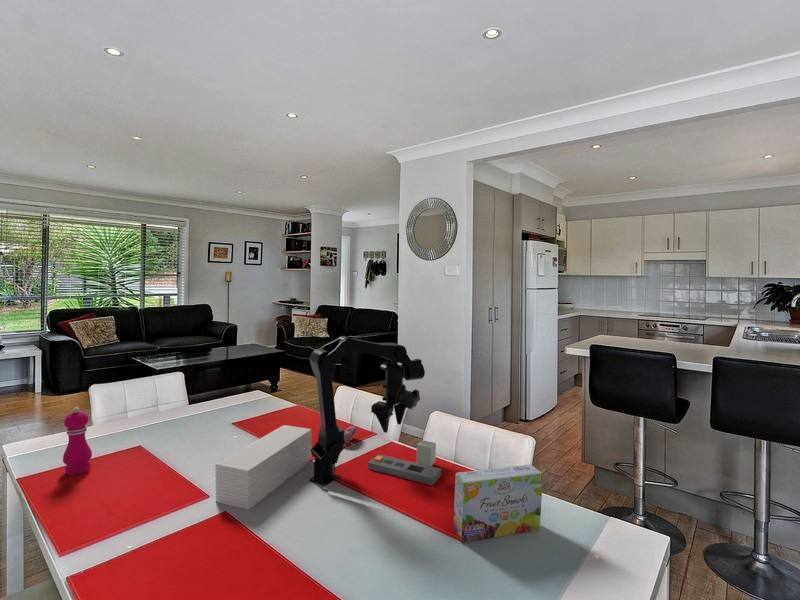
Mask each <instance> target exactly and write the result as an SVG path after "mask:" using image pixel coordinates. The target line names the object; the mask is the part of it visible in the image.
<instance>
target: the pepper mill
mask: <svg viewBox="0 0 800 600" xmlns="http://www.w3.org/2000/svg"><path fill="white" fill-rule="evenodd" d="M88 423H89V416H88V414H87V413H86V412H84V411H81V410H80V408H79V407H78V406H76V407H73V408H72V412H70V413H69V414H68V415H66V416H65V417H64V421H63V424H64V427H66V435H68V442H67V446H66V449H65V450H64V453H63V456H62V463H63V464H64V465H65V467H64V470H65V471H64V472H65V473H64V474H66V475H67V476H75V475H80V474H84V473H87V472H89V470H90V469H91V462H90V460H91V458H92V457H93V452H92V449H91V446H90V445H89V444H88V443H87V440H86V432H87V431H88V429H87V428H88V427H87V424H88Z"/></svg>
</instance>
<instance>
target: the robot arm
mask: <svg viewBox="0 0 800 600" xmlns="http://www.w3.org/2000/svg"><path fill="white" fill-rule="evenodd" d="M349 351H350V352H357V353H362V354H367V355H373V356H379V357H381V358H384V359H386V360H389V361H392V362H388V361H386V360H385V361H383V363H382V364H381V365H380V366H379V368H380V369H382V370H385V383H384V384H383V385H382V388H383V389H384V396H382V401H381V400H379V401H377V402H375V403H373V404H372V405H371V406H370V407H371V410H370V411H371V413H373V415H375V416H376V418H377V421H378V423H379V424H380V427H381V429H382V431H383V433H385V434H387V433H388V432H389V424H390V418H391V417H392V416H393V415H394V414H395V419H396V423H397V425H398V426H399V425H402V422H403V419H404V415H405V413H406V410H407V409H408V410H409V409H410V410H412V409H413V408H416V407H417V405H418V402H420V400H421V398H420V397H421V396H420V390H418V389H416V388H415V389H414V390H412V391H411V390H407V386H406V384H404V380H405V381H416V380H422V379H424V377H425V374H426V371H425V370H426V369H425V368H424V365H423V363H422V359H419V358H414V359H411V358H410V356H409V355H408V353H407V352H408V351H407V348H406V346H404V345H401V344H398V343H394V342H372V341H368V340H363V339H362V340H361V339H357V338H351V337H348V336H346V335H340V336H339V337H338V338H336V339H335V340H333V341H330V342H329V343H326V344H324V345H323V346H322V347H320V348H316V349H314V350H313V351H312V352H311V353H310V354H309V363H310V366H311V370H312V372H313V375H314V376H315V378H316V384H317V385H316V386H317V395H318V396H317V397H318V404H319V414H320V427H319V430H318V437H317V441H316V443H315V444H314V445H313V447H311V456H313V457H314V458H315V459H314V461H313V476H312V477H310V478H309V481H310V482H313V483H316V484H319V485H323V486H328V485H329V484H331V483H332V482H333V481H335V480H337V479H338V478H339V474H336V464H337V463H338V462H339V458H340V454H341V453H342V451H343V450H344V445H346V444H345V443H346V442H345V441H344V432H345V431H344V429H343V428H341V427H340V426H339V425H337V424H338V423H337V417H336V407H335V395H334V386H333V378H334V376H335V371H336V364H337V363H339V361H340V360H342V359H343V358H344V357H345V355H346V354H347V353H348V352H349ZM393 412H394V413H393ZM343 443H344V444H343Z"/></svg>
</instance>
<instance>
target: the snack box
mask: <svg viewBox="0 0 800 600" xmlns="http://www.w3.org/2000/svg"><path fill="white" fill-rule="evenodd" d="M543 478H544V473H543V472H542V471H540V470H539V469H538V468H537V467H535V466H534V465H533V464H524V465H523V464H522V465H513V466H504V467H496V468H487V469H478V470H472V471H471V470H470V471H469V470H468V471H461V472H460V471H459V472H455V477H454V479H455V480H454V502H453V503H454V506H453V507H454V508H453V531H454V533H455V532H456V533H457V535H458V536H459V538H460V539H459V538H458V539H459V541H460V540H461V541H460V542H461V544H463V543H469V542H474V541H480V540H487V539H493V538H499V537H506V536H507V537H508V536H510V535H511V536H512V535H519V534H525V533H531V532H537V531H540V530H541V515H542V514H541V513H542V500H543V499H542V497H543V482H544V481H543V480H544V479H543ZM456 533H455V534H456ZM457 535H456V536H457ZM458 536H457V537H458Z"/></svg>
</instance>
